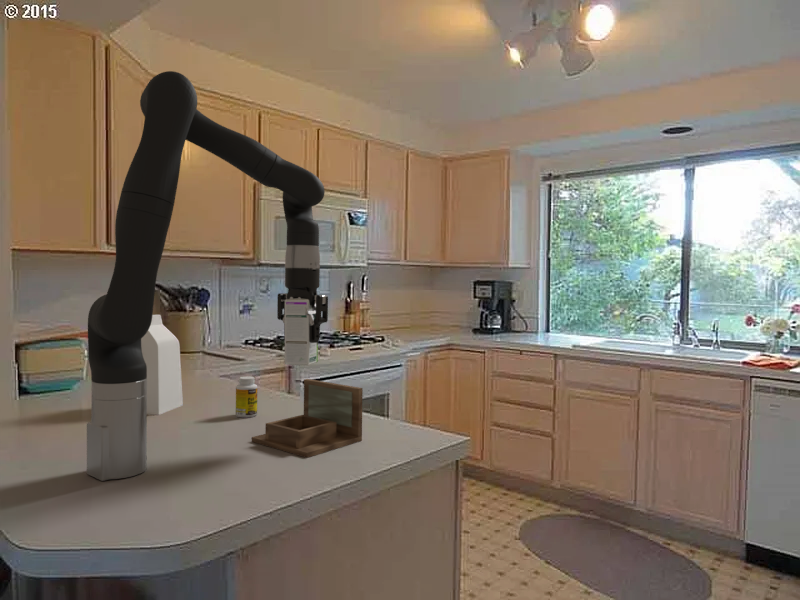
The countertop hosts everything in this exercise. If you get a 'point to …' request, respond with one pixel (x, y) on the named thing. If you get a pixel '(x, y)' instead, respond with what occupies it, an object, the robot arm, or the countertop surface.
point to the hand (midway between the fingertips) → (301, 341)
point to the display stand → (318, 421)
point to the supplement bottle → (246, 397)
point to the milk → (162, 368)
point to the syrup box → (298, 334)
